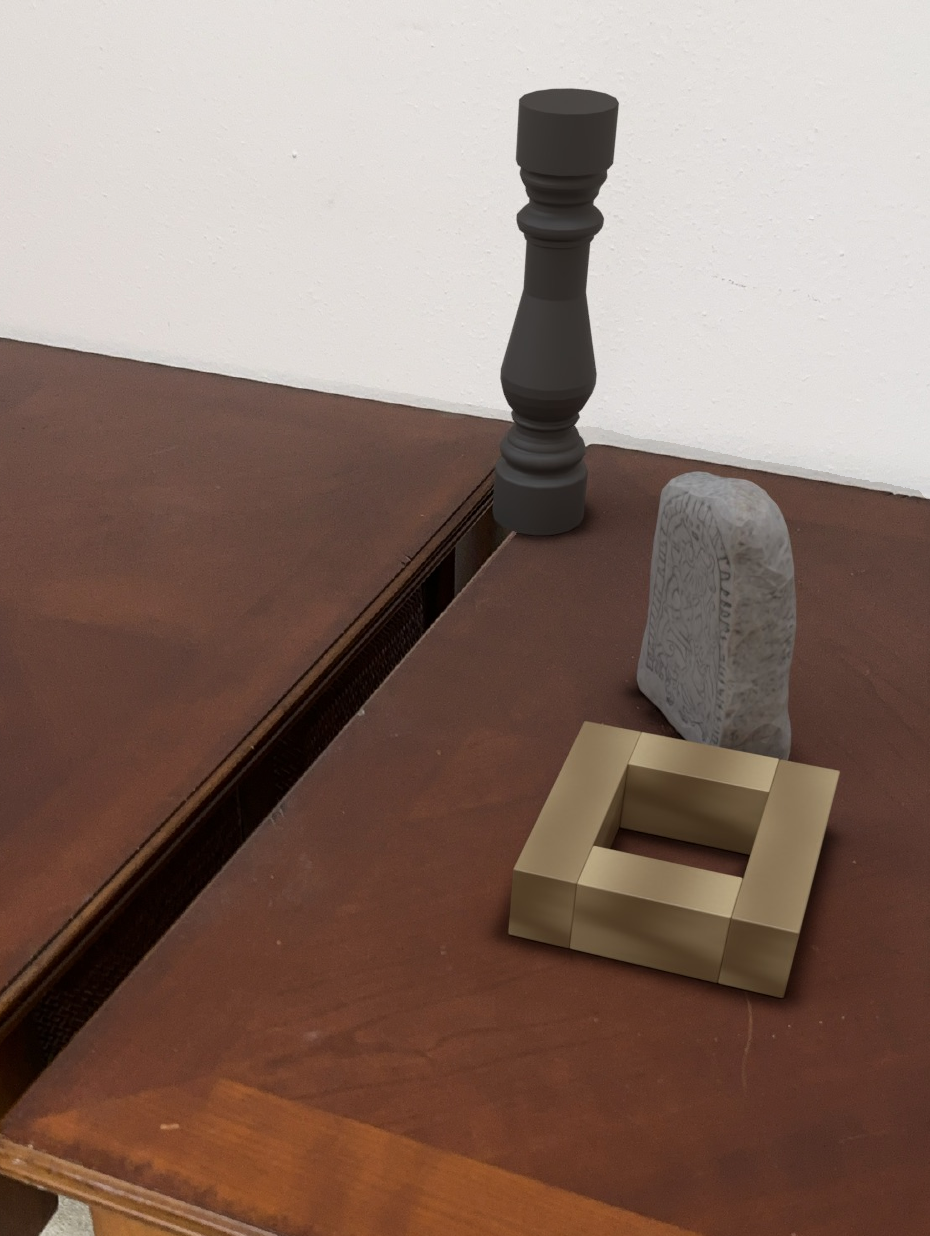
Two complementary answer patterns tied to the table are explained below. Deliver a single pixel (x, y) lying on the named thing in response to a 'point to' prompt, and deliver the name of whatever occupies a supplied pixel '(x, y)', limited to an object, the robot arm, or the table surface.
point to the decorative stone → (721, 615)
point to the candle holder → (553, 309)
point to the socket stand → (668, 892)
